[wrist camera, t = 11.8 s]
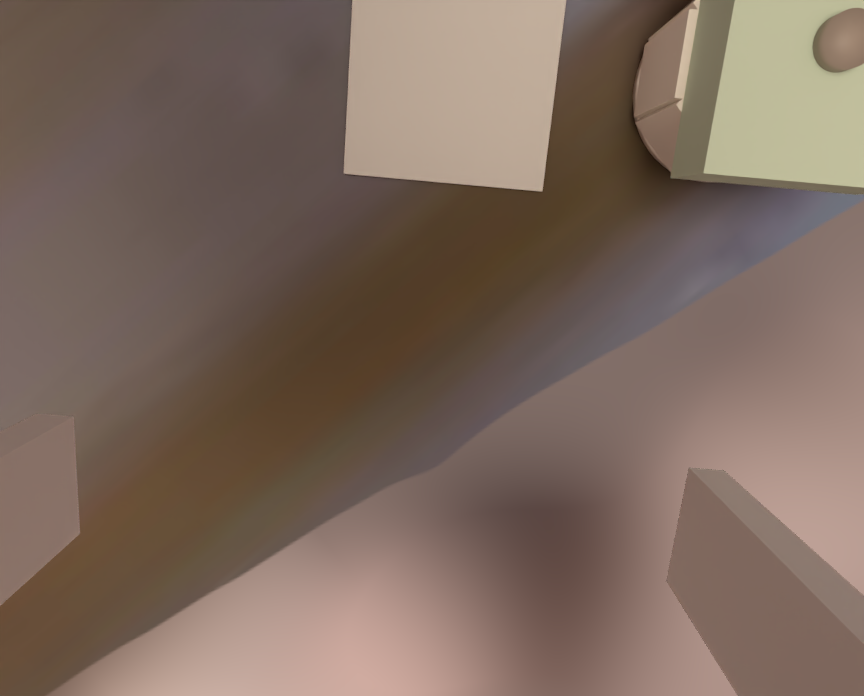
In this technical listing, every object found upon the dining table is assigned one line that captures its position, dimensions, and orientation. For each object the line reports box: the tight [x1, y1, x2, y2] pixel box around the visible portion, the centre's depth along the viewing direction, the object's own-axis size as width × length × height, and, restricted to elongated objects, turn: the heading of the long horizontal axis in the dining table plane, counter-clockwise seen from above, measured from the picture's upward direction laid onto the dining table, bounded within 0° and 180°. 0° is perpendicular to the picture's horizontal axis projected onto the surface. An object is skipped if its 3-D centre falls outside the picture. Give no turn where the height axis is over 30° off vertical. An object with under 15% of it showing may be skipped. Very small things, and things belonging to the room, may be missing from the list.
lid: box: [670, 0, 864, 195], centre depth 28 cm, size 12×10×5 cm
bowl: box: [633, 0, 709, 182], centre depth 34 cm, size 11×11×8 cm
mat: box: [344, 0, 566, 192], centre depth 37 cm, size 14×13×1 cm
